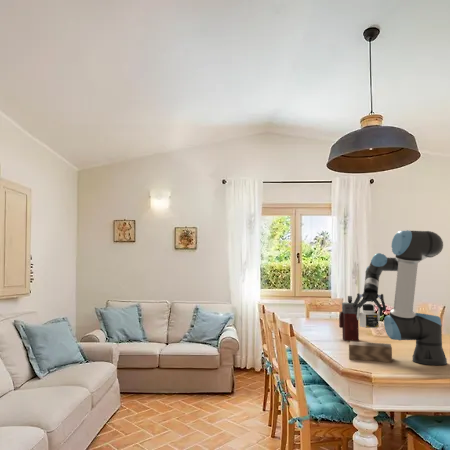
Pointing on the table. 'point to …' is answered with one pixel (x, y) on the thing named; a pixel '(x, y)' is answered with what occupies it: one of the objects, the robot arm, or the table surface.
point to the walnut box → (370, 351)
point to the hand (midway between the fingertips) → (368, 319)
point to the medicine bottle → (369, 317)
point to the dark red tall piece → (349, 321)
